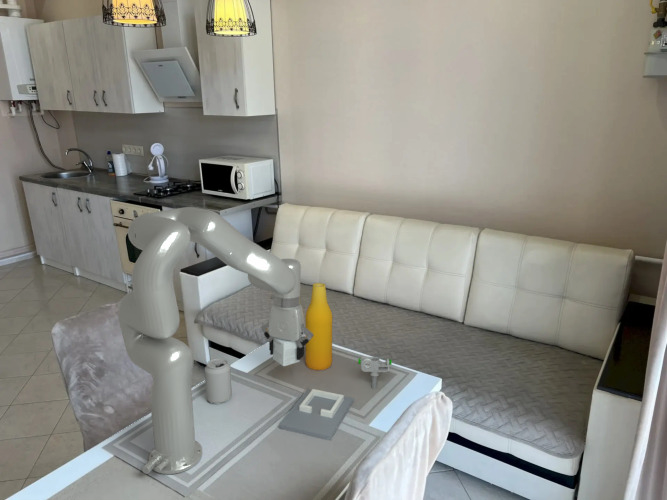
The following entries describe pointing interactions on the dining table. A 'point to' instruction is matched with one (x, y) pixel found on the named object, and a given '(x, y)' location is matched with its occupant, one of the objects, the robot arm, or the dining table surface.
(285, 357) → the product box
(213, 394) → the can
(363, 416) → the dining table surface
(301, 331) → the robot arm
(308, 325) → the beer bottle
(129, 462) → the dining table surface
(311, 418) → the board
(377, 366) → the mechanical component
